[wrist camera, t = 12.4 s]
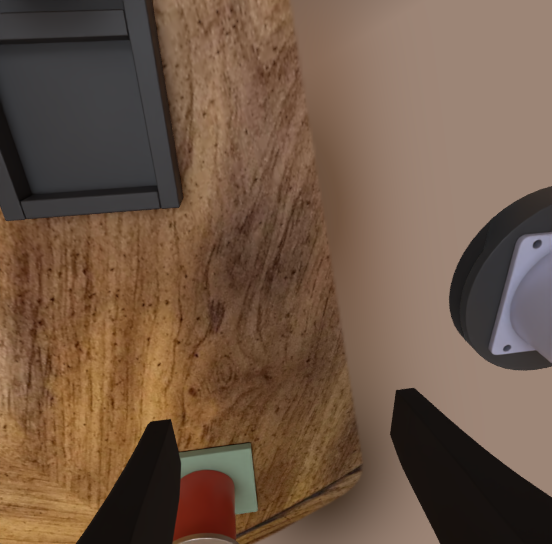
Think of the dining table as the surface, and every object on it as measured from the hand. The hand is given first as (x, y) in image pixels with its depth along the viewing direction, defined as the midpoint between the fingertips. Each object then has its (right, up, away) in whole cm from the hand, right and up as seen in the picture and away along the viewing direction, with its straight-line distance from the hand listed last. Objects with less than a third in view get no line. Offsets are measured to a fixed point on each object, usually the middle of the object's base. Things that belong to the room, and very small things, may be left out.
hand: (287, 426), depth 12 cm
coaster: (-5, -10, +15) cm, 19 cm away
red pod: (-5, -10, +14) cm, 19 cm away
